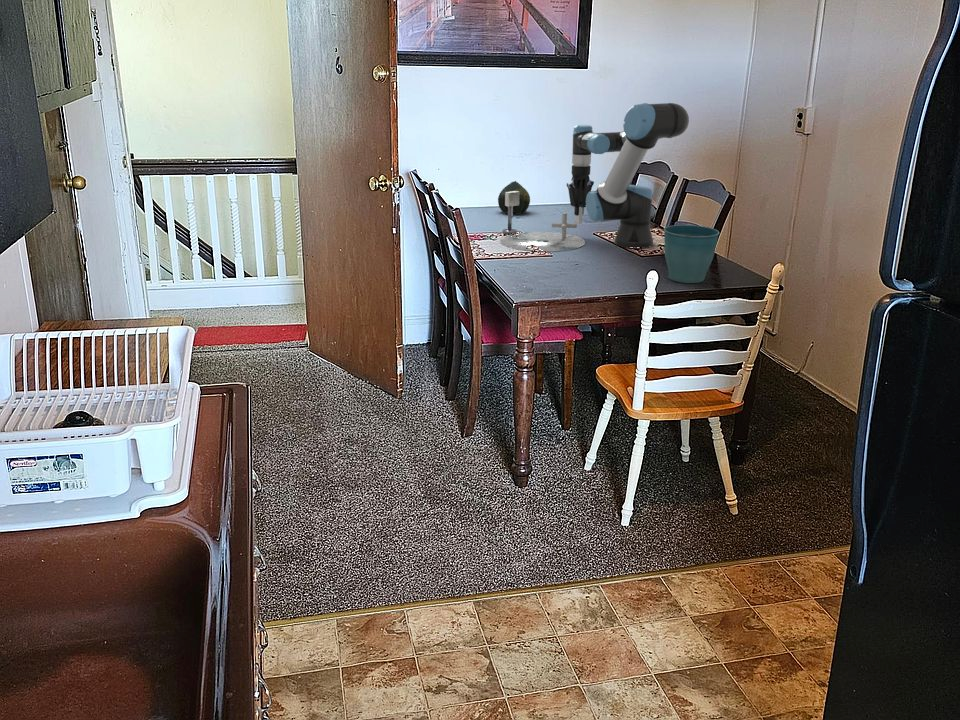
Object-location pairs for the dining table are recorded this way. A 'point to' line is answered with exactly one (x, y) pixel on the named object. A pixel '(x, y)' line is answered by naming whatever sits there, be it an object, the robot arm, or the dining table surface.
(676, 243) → the flower pot
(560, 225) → the pipe connector
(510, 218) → the block topped stand
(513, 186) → the squash
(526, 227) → the dining table surface
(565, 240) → the disc
